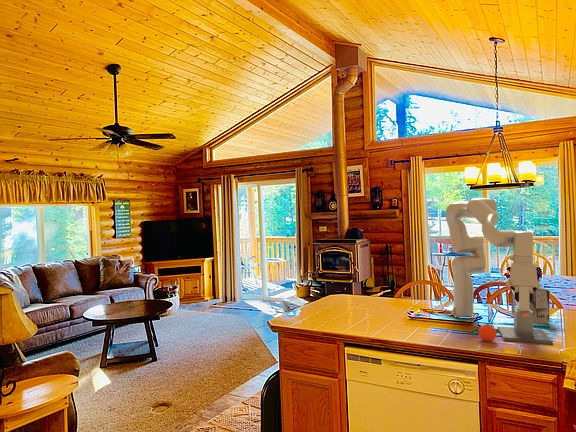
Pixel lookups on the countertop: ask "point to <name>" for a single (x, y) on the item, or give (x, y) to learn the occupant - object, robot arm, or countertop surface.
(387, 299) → the countertop surface
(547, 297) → the coffee box
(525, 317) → the stand
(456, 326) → the countertop surface
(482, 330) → the clementine
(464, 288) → the robot arm
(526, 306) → the column
